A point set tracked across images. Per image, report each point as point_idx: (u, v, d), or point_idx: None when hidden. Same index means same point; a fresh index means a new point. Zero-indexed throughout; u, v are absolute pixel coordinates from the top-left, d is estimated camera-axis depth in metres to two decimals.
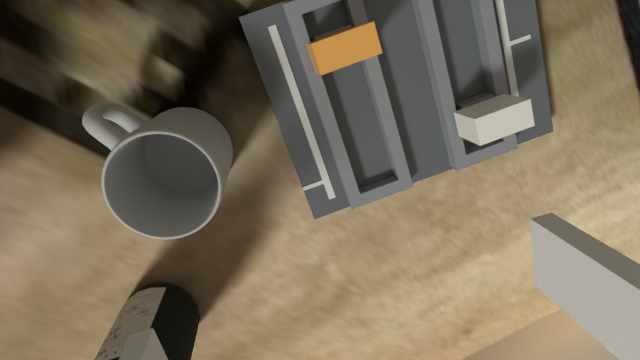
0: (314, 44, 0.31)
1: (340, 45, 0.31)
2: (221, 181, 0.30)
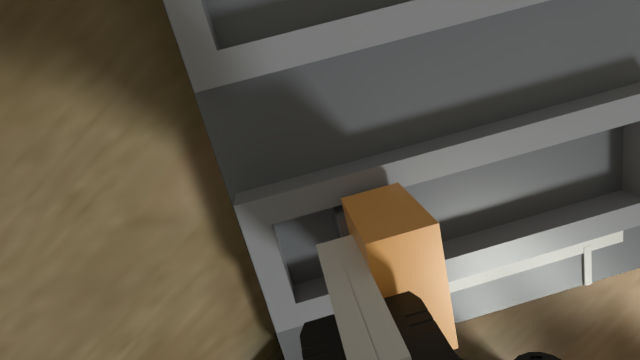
0: None
1: None
2: None
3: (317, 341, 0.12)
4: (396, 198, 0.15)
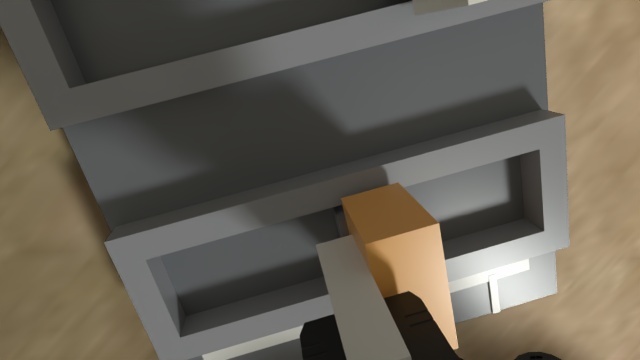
0: None
1: None
2: None
3: (317, 341, 0.12)
4: (396, 198, 0.15)
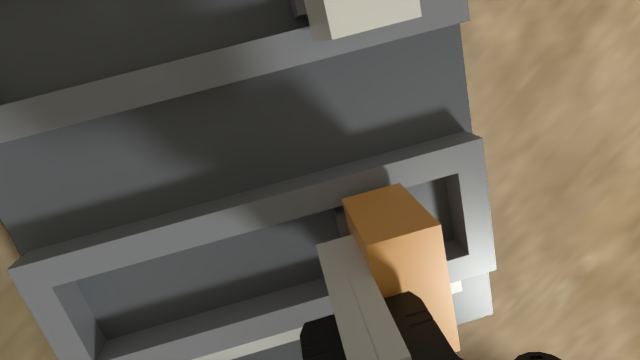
0: None
1: None
2: None
3: (317, 341, 0.12)
4: (397, 199, 0.15)
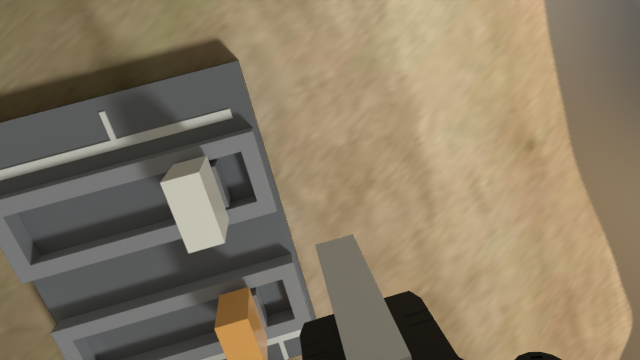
0: None
1: (238, 357, 0.29)
2: None
3: (317, 341, 0.12)
4: (241, 299, 0.31)
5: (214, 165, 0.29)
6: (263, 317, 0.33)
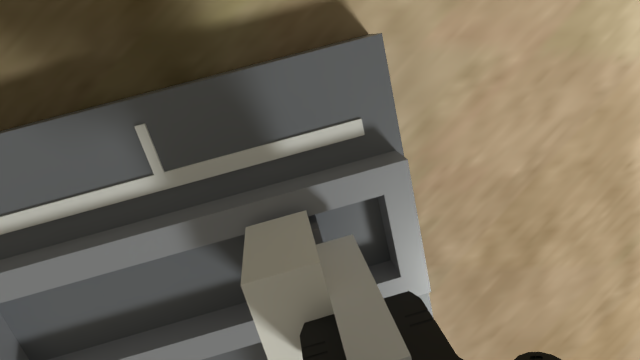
0: None
1: None
2: None
3: (317, 341, 0.12)
4: None
5: (316, 226, 0.16)
6: None
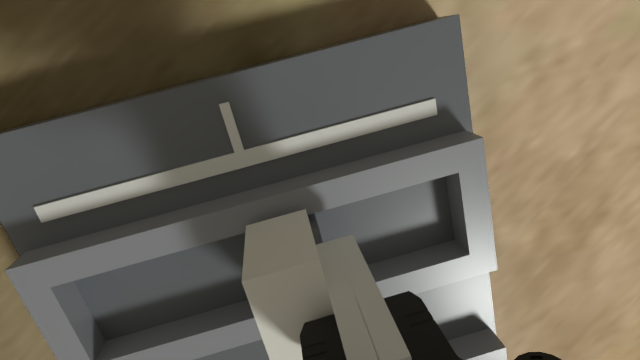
0: None
1: None
2: None
3: (317, 341, 0.12)
4: None
5: (316, 224, 0.17)
6: None
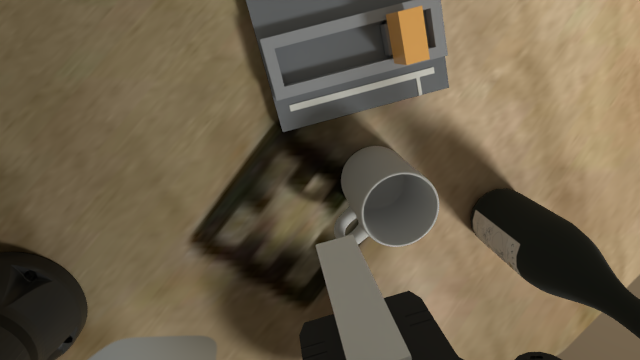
0: (407, 62, 0.40)
1: (410, 41, 0.40)
2: (404, 171, 0.41)
3: (317, 341, 0.12)
4: None
5: None
6: None
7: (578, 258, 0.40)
